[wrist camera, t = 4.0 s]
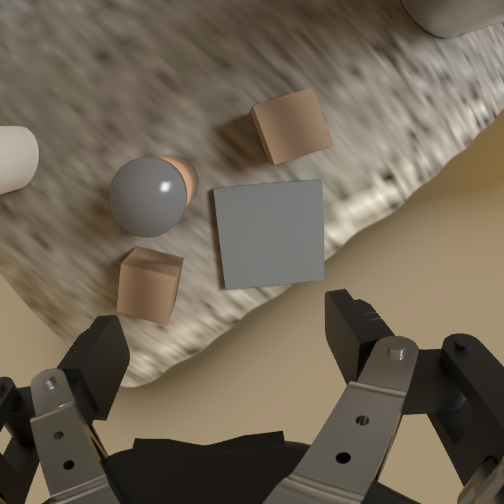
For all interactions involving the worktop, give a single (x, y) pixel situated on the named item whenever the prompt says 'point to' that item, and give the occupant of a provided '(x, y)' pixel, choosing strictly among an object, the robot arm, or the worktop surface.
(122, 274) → the block
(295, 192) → the coaster
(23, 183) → the cylindrical container
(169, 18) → the worktop surface
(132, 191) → the tan jar
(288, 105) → the block
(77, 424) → the robot arm
